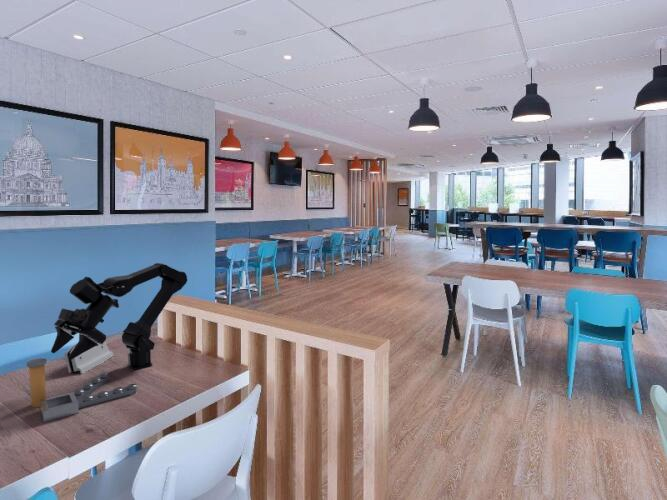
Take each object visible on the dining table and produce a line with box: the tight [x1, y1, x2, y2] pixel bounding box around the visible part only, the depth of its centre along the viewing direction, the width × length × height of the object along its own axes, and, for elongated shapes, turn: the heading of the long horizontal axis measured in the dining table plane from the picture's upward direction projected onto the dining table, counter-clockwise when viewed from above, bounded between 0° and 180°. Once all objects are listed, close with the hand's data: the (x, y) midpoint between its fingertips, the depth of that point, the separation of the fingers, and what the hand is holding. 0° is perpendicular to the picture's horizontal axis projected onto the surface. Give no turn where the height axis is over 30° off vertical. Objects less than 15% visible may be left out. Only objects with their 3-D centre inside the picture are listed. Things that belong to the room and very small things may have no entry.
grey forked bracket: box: [39, 371, 138, 423], centre depth 125 cm, size 24×19×3 cm
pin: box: [26, 357, 47, 408], centre depth 118 cm, size 5×5×13 cm
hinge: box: [64, 341, 115, 375], centre depth 147 cm, size 17×5×10 cm, turn 171°
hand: (60, 355), depth 123 cm, fingers open, 9 cm apart
